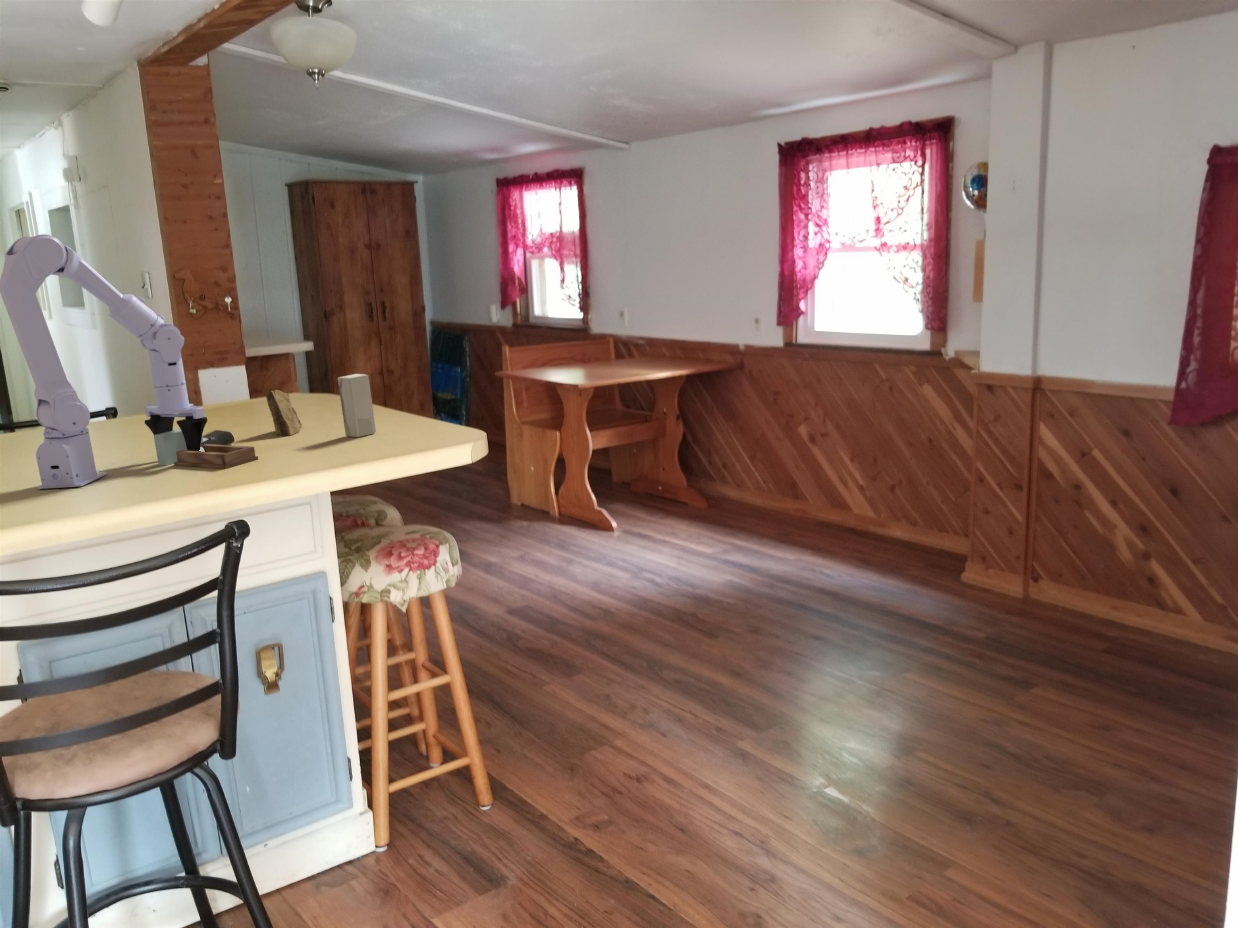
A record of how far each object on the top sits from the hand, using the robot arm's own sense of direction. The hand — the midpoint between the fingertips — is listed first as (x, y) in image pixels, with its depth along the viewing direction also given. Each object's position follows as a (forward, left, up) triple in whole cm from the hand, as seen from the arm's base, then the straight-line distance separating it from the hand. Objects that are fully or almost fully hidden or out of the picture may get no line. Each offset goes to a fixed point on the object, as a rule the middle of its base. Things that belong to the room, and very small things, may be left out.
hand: (181, 453), depth 190 cm
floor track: (-4, -8, -1) cm, 10 cm away
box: (+16, -32, -2) cm, 35 cm away
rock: (+26, -14, -2) cm, 29 cm away
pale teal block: (0, 0, -2) cm, 2 cm away
